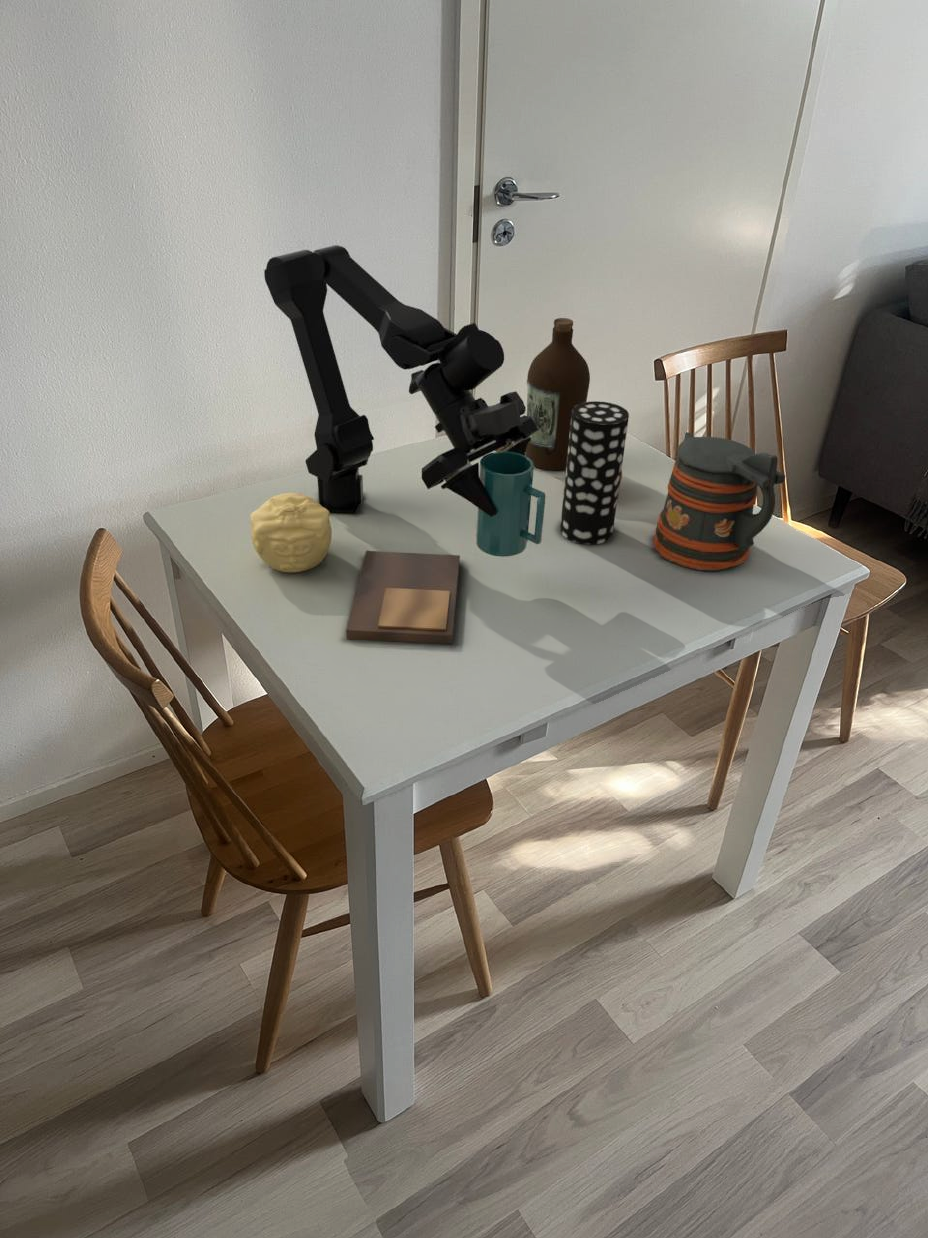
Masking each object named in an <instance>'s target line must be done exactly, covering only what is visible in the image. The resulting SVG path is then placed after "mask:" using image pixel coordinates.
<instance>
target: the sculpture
mask: <svg viewBox="0 0 928 1238" xmlns="http://www.w3.org/2000/svg"><path fill="white" fill-rule="evenodd" d="M330 513H331V512H329V511H328V510H327V509H325V508H324V507H322V506H321V505H320V504H319V501H317V500H316V499H314V498H313V497H310V496H308V495H306V494H302V493H297V492H286V493H285V492H284V493H281V494H277V495H274V496H272V497H270V498H268V499H267V500H266V501H264V502H263V503H262V504H261V505H260V507H258V509H256V510H254V511H253V512H251V514H250V516H249V519H250V524H251V532H250V533H251V542H252V545H253V547H254V549H255V551H256V553H257V555H258V557H259V558H260V559H261V560H262V562H263V563H265V564H266V565H267V566H268V567H270V568H271V569H273V570H276V571H279V572H282V573H302V572H305V571H308V570H311V569H313V568H315V567H316V566H318V565H319V564H320V563H321V562H322V561H323V560H324V558H325V557H326V556H327V554H328V552H329V550H330V547H331V543H332V536H333V530H332V529H333V528H332V523H331V521H330V515H331V514H330Z"/></svg>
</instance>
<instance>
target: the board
mask: <svg viewBox="0 0 928 1238" xmlns="http://www.w3.org/2000/svg"><path fill="white" fill-rule="evenodd" d="M460 565H461V555H459V554H441V553H440V554H438V553H420V552H419V553H418V552H401V551H400V552H399V551H398V552H397V551H379V550H365V553H364V557H363V561H362V565H361V569H360V573H359V577H358V581H357V585H356V589H355V593H354V598H353V601H352V605H351V609H350V614H349V617H348V620H347V621H348V622H347V625H346V629H345V635H346V640H358V641H359V640H360V641H380V642H396V643H414V644H415V643H417V644H433V645H434V644H437V645H453V637H454V636H453V635H454V626H455V614H456V605H457V596H458V587H459V586H458V584H459V574H460Z"/></svg>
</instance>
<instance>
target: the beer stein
mask: <svg viewBox="0 0 928 1238" xmlns="http://www.w3.org/2000/svg"><path fill="white" fill-rule="evenodd" d="M675 454H676V456H677V458H676V459H675V461H674V463H673V468H672V471H671V474H670V476H669V477H670V478H669V480H668V484H667V496H666V498H665V502H664V504H663V508H662V510H661V511H660V513H659V515H658V516H659V517H658V520H657V524H656V528H655V532H654V537H653V547H654V549H655V550H656V551H657V552H658V554H659V555H660V556H661V557H662V558H663V559H665V560H667V561H670V562H671V563H674V564H677V565H680V566H682V567H685V568H689V569H693V570H697V571H706V572H717V571H719V572H720V571H725V570H730V569H735V568H736V567H737V566H739V565H742V564H743V563H744V562H745V561H746V560H747V559H748V557H749V555H750V552H751V547H753V546H754V544H755V542H754V538H755V537H756V536H758V535H759V534H760V533H761V532H762V531H763V530H764V529H765V528H766V527H767V525H768V524H769V523H770V521H771V519H772V517H773V515H774V512H775V507H776V493H775V488H774V487H775V485H778V484H783V483H784V482H785V479H786V475H785V474H784V473H782V472H780V471H778V461H779V459H778V456H777V455H772V454H771V453H768V452H759V453H756V452H755V451H754V450H753V449H752V448H750V447H749V446H747V445H745V444H744V443H741V442H739V441H736V440H732V439H728V438H723V437H717V436H716V437H715V436H694V435H692V434H691V433H690V432H688V431H686V432H685V433H684V437H683V441H682V442H681V443H679V445H678V446H677V448H676V453H675ZM758 487H759V489H760V491H761V494H762V506H761V508H760V510H759V511H758V512H757V513H753V512H754V505H755V504H756V501H757V498H758V494H759V492H758V491H759V490H758Z"/></svg>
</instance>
